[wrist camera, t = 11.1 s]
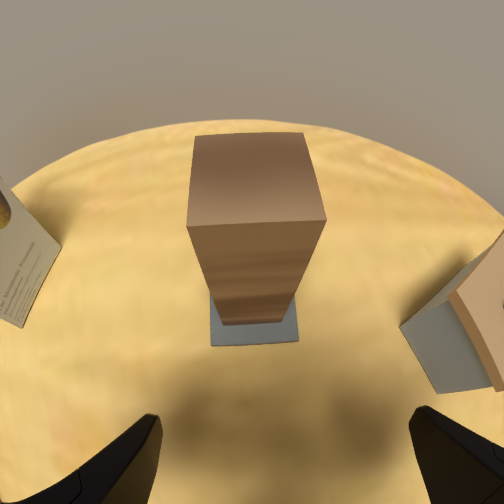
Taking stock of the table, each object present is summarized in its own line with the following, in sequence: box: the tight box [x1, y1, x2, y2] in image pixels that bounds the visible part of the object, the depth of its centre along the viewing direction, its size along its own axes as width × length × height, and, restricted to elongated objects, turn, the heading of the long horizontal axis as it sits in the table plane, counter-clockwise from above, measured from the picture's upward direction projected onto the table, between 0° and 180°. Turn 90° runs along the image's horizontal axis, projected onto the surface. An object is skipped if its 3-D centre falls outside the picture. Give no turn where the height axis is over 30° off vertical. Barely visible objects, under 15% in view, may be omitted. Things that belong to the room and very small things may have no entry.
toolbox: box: [399, 230, 504, 394], centre depth 15 cm, size 11×8×9 cm
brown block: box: [186, 132, 327, 326], centre depth 14 cm, size 4×4×12 cm
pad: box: [210, 293, 299, 346], centre depth 20 cm, size 6×6×1 cm
